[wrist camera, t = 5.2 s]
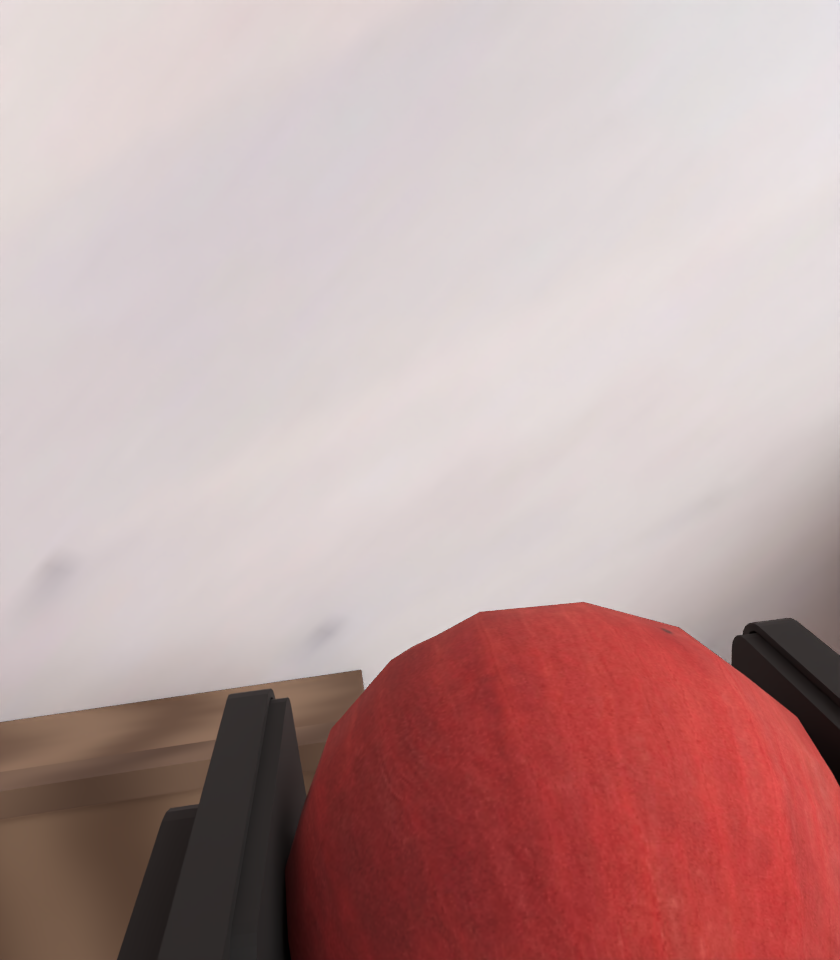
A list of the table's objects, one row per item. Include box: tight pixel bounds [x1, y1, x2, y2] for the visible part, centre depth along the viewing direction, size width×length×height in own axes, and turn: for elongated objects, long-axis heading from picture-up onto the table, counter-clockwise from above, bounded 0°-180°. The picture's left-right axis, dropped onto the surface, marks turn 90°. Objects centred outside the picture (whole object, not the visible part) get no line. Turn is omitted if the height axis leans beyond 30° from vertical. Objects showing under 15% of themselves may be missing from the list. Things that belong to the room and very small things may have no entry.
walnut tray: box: [0, 670, 364, 960], centre depth 27 cm, size 16×16×4 cm
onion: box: [285, 602, 840, 960], centre depth 8 cm, size 6×6×8 cm
